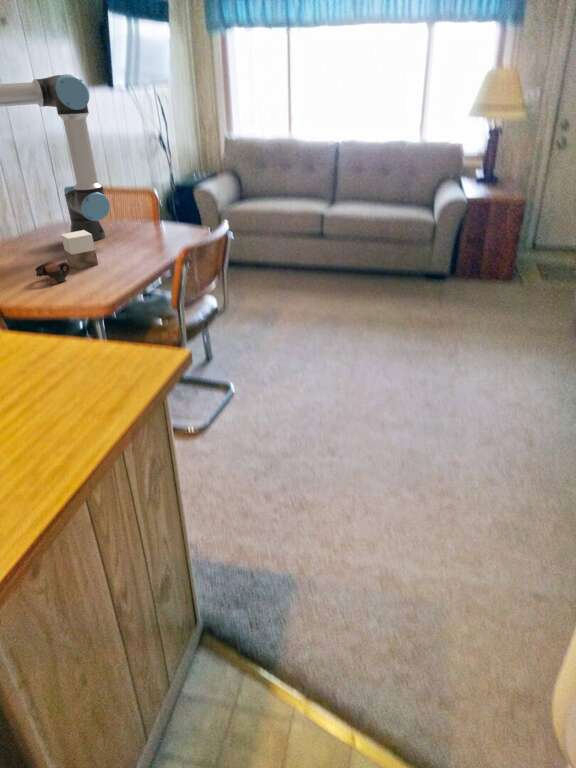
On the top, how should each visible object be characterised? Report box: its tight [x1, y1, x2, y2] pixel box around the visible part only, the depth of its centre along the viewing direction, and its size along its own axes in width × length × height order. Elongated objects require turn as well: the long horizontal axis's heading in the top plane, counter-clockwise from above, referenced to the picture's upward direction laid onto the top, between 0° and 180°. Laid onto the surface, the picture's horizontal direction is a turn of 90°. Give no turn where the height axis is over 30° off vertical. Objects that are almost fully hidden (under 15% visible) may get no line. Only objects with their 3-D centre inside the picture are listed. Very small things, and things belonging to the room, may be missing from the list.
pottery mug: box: [35, 260, 72, 286], centre depth 197 cm, size 12×10×8 cm
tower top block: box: [60, 230, 96, 255], centre depth 209 cm, size 9×9×6 cm
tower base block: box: [64, 249, 99, 271], centre depth 212 cm, size 9×9×6 cm
